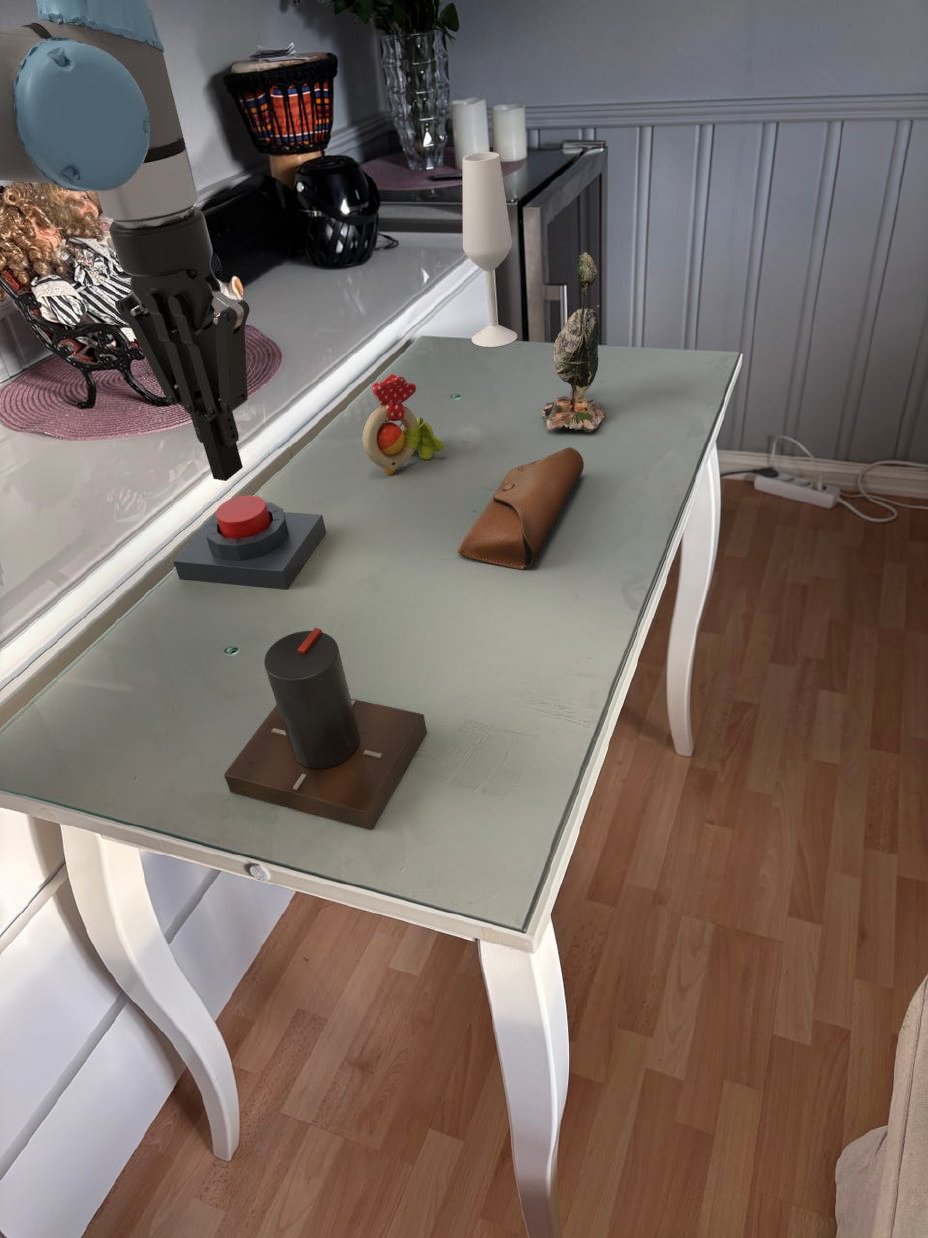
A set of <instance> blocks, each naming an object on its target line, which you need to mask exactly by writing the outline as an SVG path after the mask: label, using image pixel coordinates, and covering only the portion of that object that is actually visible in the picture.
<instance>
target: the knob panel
mask: <svg viewBox="0 0 928 1238" xmlns="http://www.w3.org/2000/svg"><path fill="white" fill-rule="evenodd" d="M351 702H352V706H353V710H354V715H355V719H356V723H357V727H358V731H359V736H360V739H359V744H358V747H357V749H356V751H355V752H354V753H353V754H352V755H351V756H350V757H349V758H348V759H347V760H345V761H344V762H342V763H340V764H338V765H336V766H333V767H329V768H324V769H314V768H308V767H305V766H303V765H301V764H300V763H298V762H297V761H296V760H295V758H294V757H293V755H292V752H291V748H290V745H289V742H288V739H287V736H286V733H285V729H284V726H283V723H282V720H281V717H280V713H279V710H278V707H277V704H276V703H275V706H274V707H273V708H272V710H271V711H270V712H269V714H268V715H267V716H266V718H265V719H264V720H263V722H262V723H261V724H260V726H259V727H258V728H257V730H256V731H255V733H254V734H253V735H252V736H251V738H250V739H249V741H248V742H246V744H245V745H244V747H243V748H242V750H241V751H240V752H239V754H238V755H237V757H235V759H234V760H233V762H232V763H231V764H230V765H229V767H228V768H227V770H226V771H225V773H224V774H223V776H224V778H225V779H224V780H225V781H226V784H227V786H228V789H229V792H230V793H234V794H237V795H241V796H245V797H248V798H251V799H255V800H258V801H262V802H267V803H270V804H273V805H277V806H281V807H285V808H288V809H292V810H296V811H300V812H303V813H306V814H307V813H308V814H309V815H310V814H311V815H314V816H319V817H322V818H326V819H328V820H333V821H337V822H340V823H344V824H348V825H350V826H355V827H359V828H362V829H366V830H370V831H372V830H373V829H374V828H375V825H376V823H377V822H378V820H379V818H380V817H381V815H382V812H383V811H384V809H385V807H386V805H387V804H388V802H389V800H390V799H391V797H392V795H393V793H394V792H395V789H396V787H397V786H398V785H399V782H400V780H401V779H402V777H403V776H404V774H405V771H406V770H407V768H408V767H409V764H410V763H411V761H412V760H413V758H414V756H415V754H416V752H417V751H418V748H419V747H420V745H421V743H422V742H423V740H424V738H425V736H426V734H427V732H428V731H427V725H426V718H425V715H424V714H423V713H419V712H415V711H410V710H405V709H401V708H397V707H396V708H395V707H392V706H387V705H383V704H378V703H373V702H368V701H363V700H359V699H355V698H351Z"/></svg>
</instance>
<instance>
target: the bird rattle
mask: <svg viewBox="0 0 928 1238" xmlns="http://www.w3.org/2000/svg"><path fill="white" fill-rule="evenodd" d="M371 390H372V393H373V395H374V396H375V398H377V400H378V401H379V402H380V404H379V405H378V407H377V408H376V409H375V410H374V411H373V412H372V413H370V415H369V417H368V418H367V420H366V422H365V425H364V427H363V431H362V446H363V449H364V452H365V454H366V456H367V457H368V459H369V460H370V461H371V462H373V464H375V465H376V466H378V467H380V468H382V469H383V471H384V473H386V474H387V475H393V474H394V473H395V472H396V470H397V469H399V467H402V466H403V465H404V464H406V463H407V462H408V461H409V460H410V459H411V457H412V456H413V455H414V453H415V452H416V450H417V453H418V456H419V457H420V458H421V459H422V460H425V461H427V460H428V461H429V460H430V459H431V458H432V457H433V454H434V452H441V451H442V450H443V449H444V447H445V444H444V442H443V441H441V439H439V438H438V437H437V436H435V435H434V431H433V428H432V426H431V425H430V423H429V422H424V418H423V417H418V418H417V417H416V415H415V414H414V413H413V412H412V410H411V409H409V407H407V406H405V405H404V404H403V403H404V402H406V401H407V400H408V399H409V398H411V397H412V396H413V395H414V394H415V392H416V391H417V385H416V384H415V383H412V382H411V383H409V382H407V380H406V378H405V377H404V376H401V375H400V376H397V375H395V374H392V373H391V374H389V375H388V376H387V377H386V378H385V379H384V380H383V381H380V382H379V381H377V382H375V383H373V384H372V386H371ZM395 422H400V424H399V425H398V424H397V423H395ZM402 425H403V428H401V427H402Z"/></svg>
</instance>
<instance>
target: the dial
mask: <svg viewBox="0 0 928 1238" xmlns="http://www.w3.org/2000/svg"><path fill="white" fill-rule="evenodd" d="M263 664H264V668H265V671H266V675H267V678H268V682H269V685H270V689H271V691H272V694H273V697H274V700H275V705H276V704H277V707H278V710H279V713H280V717H281V720H282V723H283V726H284V729H285V733H286V736H287V739H288V742H289V745H290V748H291V752H292V755H293V757H294V758H295V760H296V761H297V762H298V763H300V764H301V765H303V766H305V767H308V768H314V769H324V768H329V767H333V766H336V765H338V764H340V763H342V762H344V761H345V760H347V759H348V758H349V757H350V756H351V755H352V754H353V753H354V752H355V751H356V749H357V747H358V744H359V739H360V736H359V731H358V727H357V723H356V719H355V715H354V710H353V706H352V702H351V699H352V698H351V694H350V691H349V686H348V682H347V678H346V674H345V671H344V665H343V661H342V656H341V653H340V649H339V645H338V643H337V641H336V639H335V638H334V637H332V636H331V635H330V634H327V633H326V632H323V630H322V628H317V627H314V628H313V629H312V630H302V631H297V632H293V633H290V634H288V635H287V634H286V635H285V636H283V637H281V638H280V639H278V640H277V641H275V642H274V643H273V644H272V645H271V646H270V647H269V648H268V650H267V651H266V652H265V655H264V660H263Z"/></svg>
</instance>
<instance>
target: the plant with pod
mask: <svg viewBox="0 0 928 1238" xmlns="http://www.w3.org/2000/svg"><path fill="white" fill-rule="evenodd" d="M576 268H577V279H576V281H577V285H578V287H579V288H581V289H582V290H583V291H582V295H583V300H582V304H583V305H582V308H578V309H577V310H576V311H574V312H573V313H572V314H571V316H570V317H568V319H567V320H566V322H565V324H564V326H563V327H562V330H560V332H559V333H558V334H557V337H556V339H555V340H554V345H553V346H552V347H553V354H552V355H553V363H554V367H555V370H556V375H557V376H558V377H559V378H560V379H561V381H563V382H564V383H566V384H569V385H570V387H571V388H570V397H567V396H561V397H558V398H556V399H555V400H554V401H552V402H549V403H548V402H546V404H545V406H544V409H543V410H541V412H540V414H541V416H543V417H544V418H543V419H542V420H543V421H545V424H546V425H545V426H546V430H549V431H553V430H558V429H561V428H563V427H565V428H566V429H568V427H569V429H570V430H571V429H574V431H577V430H579V431H581V430H582V431H583V430H584V432H588V433H591V432H593V431H596V430H598V427H599V426H600V424H601V422H602V419H604V417H606V409H605V408H602V407H600V403H598V401H597V400H595V399H594V398H593V399H590V400H589V399H586V398H585V395H586V393H587V392H588V390H589V389H590V387H591V386H592V384H593V382H594V380H595V378H596V375H597V372H598V370H599V369H598V368H599V340H600V338H599V337H600V324H599V318H598V314H597V311H596V310H594V309H590V308H588V307H587V308H585V307H586V300H587V296H588V294H589V293H588V288H589V287H590V286H591V285H593V284H594V283H595V282H596V279H597V276H598V271H597V266H596V264H595V261H594V260H593V258H592V257H591V255H589V253H588V252H585V251H584V252H582V253H581V254H580V255H578V258H577V263H576ZM596 307H598V308H599V307H601V306H600V305H598V304H596Z"/></svg>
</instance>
